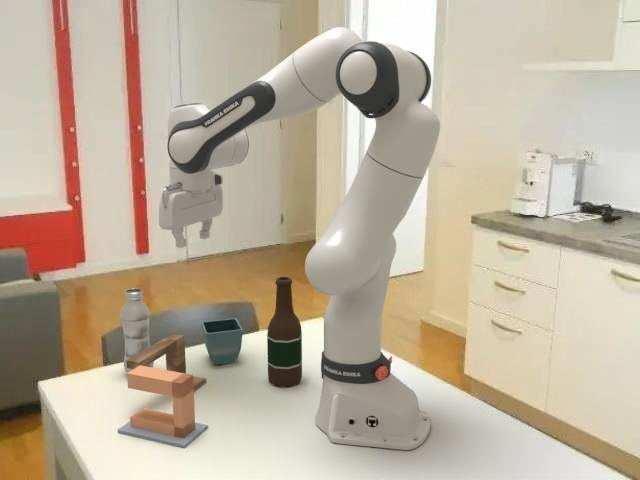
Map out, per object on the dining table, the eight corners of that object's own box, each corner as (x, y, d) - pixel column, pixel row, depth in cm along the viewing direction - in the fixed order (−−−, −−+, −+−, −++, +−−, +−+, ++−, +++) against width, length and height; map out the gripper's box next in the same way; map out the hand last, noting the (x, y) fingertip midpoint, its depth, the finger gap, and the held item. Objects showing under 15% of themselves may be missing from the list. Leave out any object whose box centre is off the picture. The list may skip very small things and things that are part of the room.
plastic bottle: (150, 379, 148) (144, 295, 143) (120, 379, 148) (114, 294, 143) (157, 367, 154) (152, 286, 150) (129, 367, 154) (123, 286, 150)
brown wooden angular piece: (206, 382, 146) (204, 333, 144) (156, 419, 129) (153, 365, 127) (168, 375, 150) (166, 327, 147) (115, 411, 133) (111, 357, 130)
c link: (195, 428, 125) (192, 374, 122) (183, 438, 121) (180, 383, 119) (143, 417, 129) (140, 365, 127) (130, 426, 126) (126, 373, 123)
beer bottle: (280, 370, 152) (279, 271, 147) (308, 378, 148) (308, 276, 143) (261, 383, 146) (258, 280, 141) (290, 391, 142) (288, 285, 137)
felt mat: (207, 427, 126) (207, 425, 126) (184, 448, 119) (184, 445, 119) (143, 414, 132) (143, 411, 132) (117, 432, 124) (117, 429, 124)
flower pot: (202, 355, 161) (200, 321, 159) (237, 351, 164) (236, 317, 162) (207, 369, 153) (205, 333, 151) (244, 365, 156) (243, 329, 154)
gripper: (175, 187, 130) (178, 254, 133) (226, 175, 149) (228, 234, 152) (149, 185, 133) (153, 251, 136) (203, 174, 151) (205, 232, 154)
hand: (193, 242), depth 144 cm, fingers open, 8 cm apart
